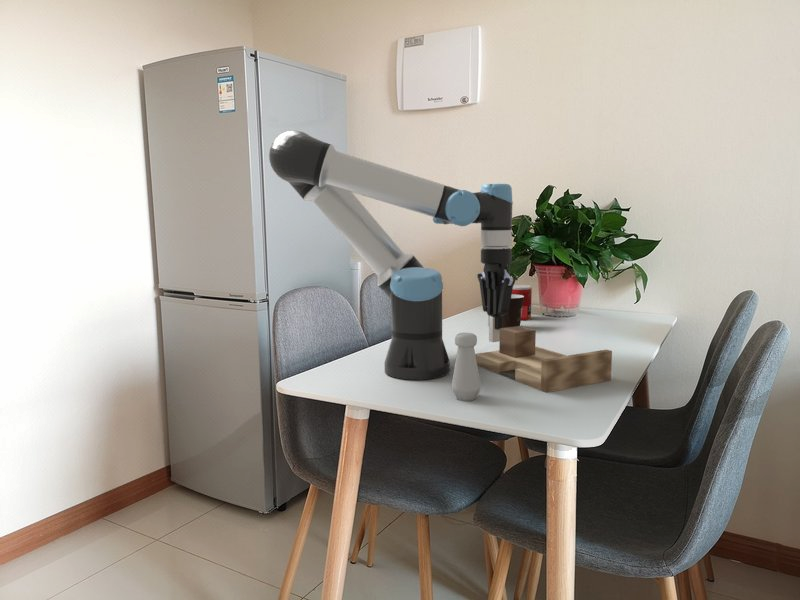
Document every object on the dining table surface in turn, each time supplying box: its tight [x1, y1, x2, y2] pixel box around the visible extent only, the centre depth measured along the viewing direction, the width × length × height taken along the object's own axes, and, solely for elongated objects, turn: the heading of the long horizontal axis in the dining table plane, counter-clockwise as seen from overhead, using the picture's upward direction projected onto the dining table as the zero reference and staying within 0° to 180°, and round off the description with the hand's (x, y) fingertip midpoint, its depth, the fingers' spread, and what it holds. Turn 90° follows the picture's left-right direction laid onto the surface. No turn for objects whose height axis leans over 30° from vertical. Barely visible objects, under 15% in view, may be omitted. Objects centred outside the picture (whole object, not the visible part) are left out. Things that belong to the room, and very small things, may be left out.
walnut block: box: [498, 325, 537, 358], centre depth 145 cm, size 6×6×6 cm
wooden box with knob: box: [475, 345, 613, 393], centre depth 138 cm, size 18×26×6 cm
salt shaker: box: [450, 332, 482, 402], centre depth 120 cm, size 6×6×13 cm
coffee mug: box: [502, 294, 524, 328], centre depth 188 cm, size 12×9×10 cm
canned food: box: [512, 284, 533, 321], centre depth 204 cm, size 8×8×11 cm
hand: (495, 341), depth 153 cm, fingers closed
